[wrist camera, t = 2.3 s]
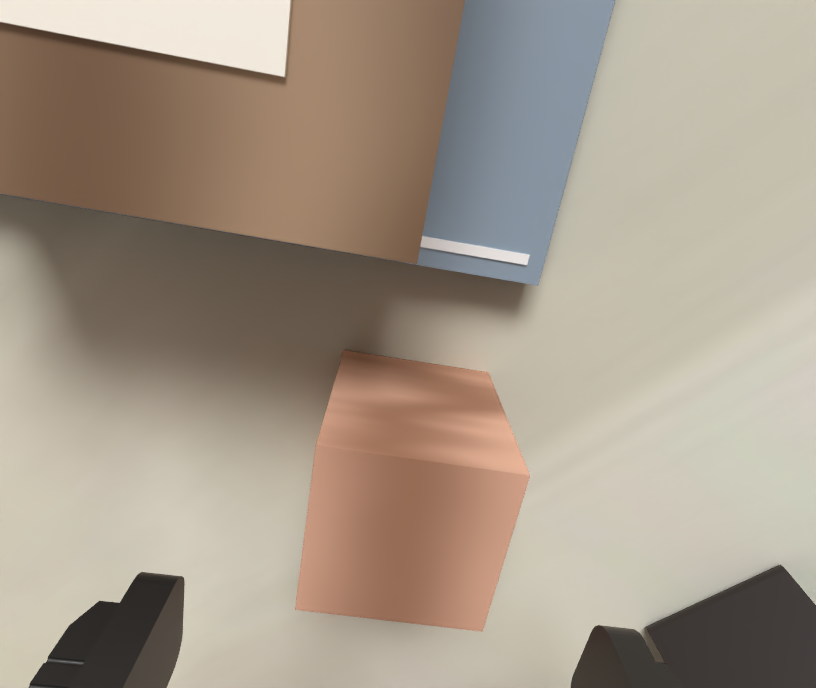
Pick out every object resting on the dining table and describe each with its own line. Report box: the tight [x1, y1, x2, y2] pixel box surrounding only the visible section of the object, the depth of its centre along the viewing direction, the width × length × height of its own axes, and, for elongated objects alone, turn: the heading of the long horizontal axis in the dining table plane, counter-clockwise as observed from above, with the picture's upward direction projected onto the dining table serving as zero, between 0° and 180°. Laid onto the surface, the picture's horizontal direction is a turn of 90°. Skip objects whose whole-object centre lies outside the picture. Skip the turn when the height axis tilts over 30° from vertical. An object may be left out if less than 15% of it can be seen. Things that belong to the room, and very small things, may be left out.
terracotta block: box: [295, 350, 530, 631], centre depth 15 cm, size 5×5×6 cm
